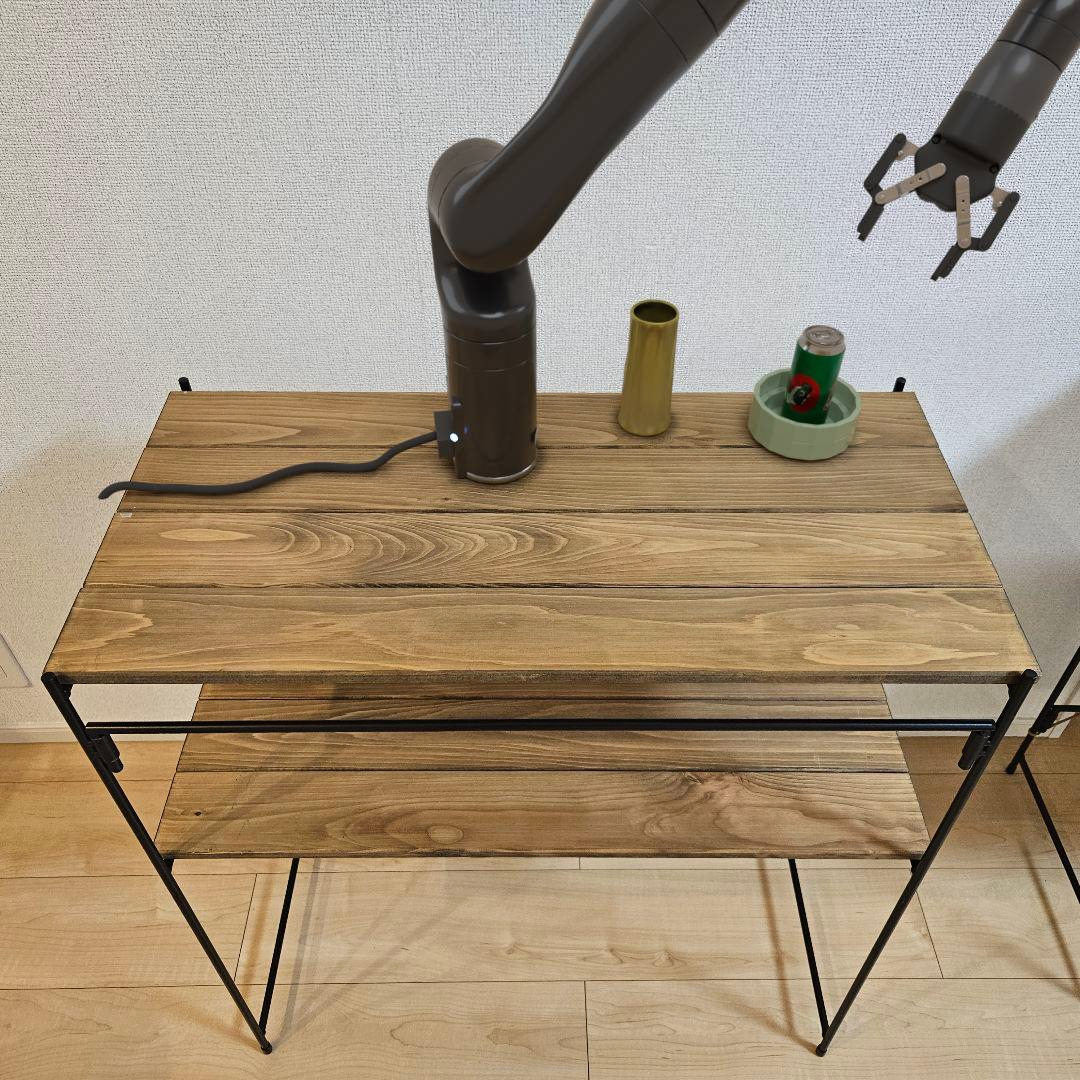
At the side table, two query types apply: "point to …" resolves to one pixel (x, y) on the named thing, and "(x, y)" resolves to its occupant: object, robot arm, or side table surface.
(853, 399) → the bowl
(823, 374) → the soda can
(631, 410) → the vase
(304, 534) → the side table surface
